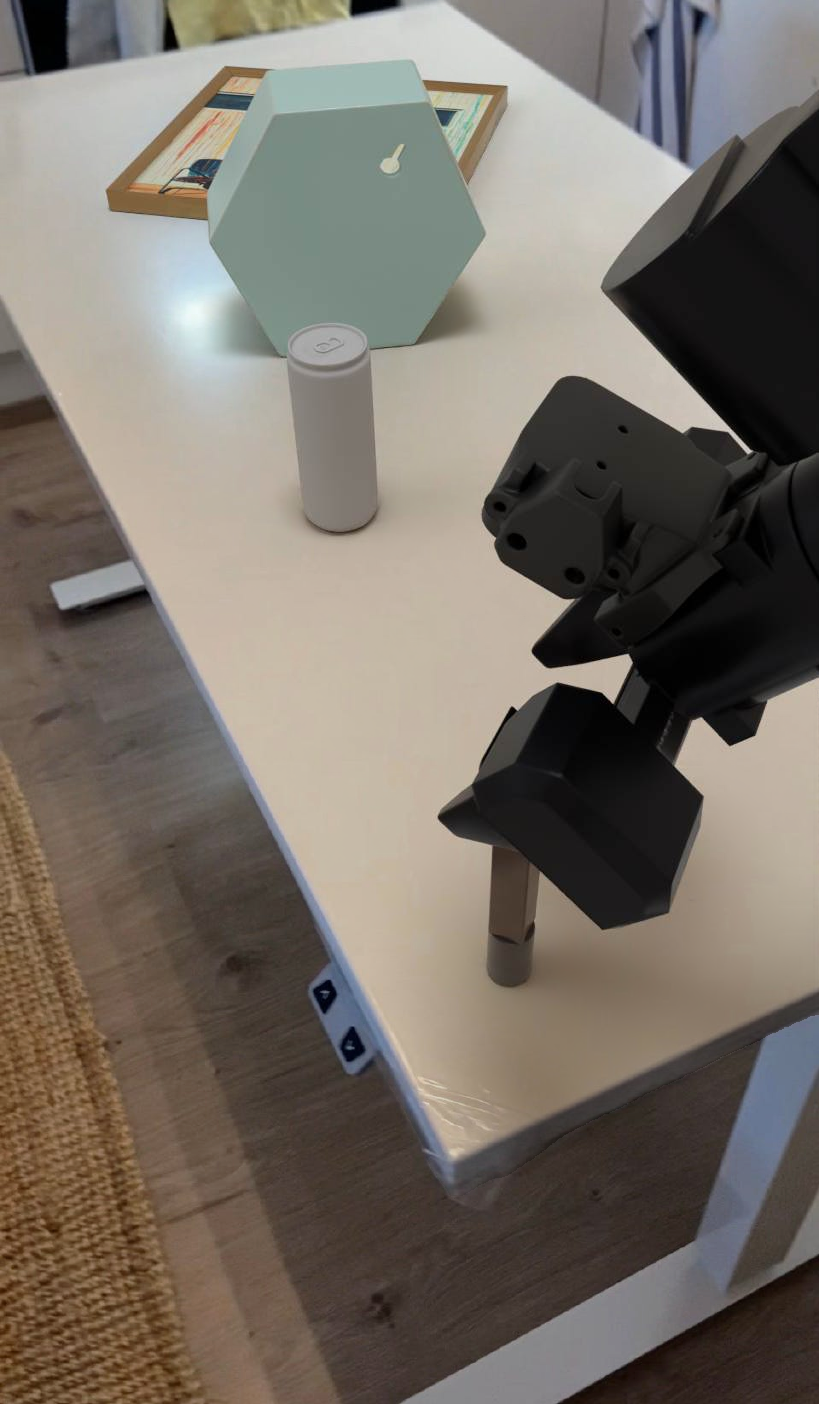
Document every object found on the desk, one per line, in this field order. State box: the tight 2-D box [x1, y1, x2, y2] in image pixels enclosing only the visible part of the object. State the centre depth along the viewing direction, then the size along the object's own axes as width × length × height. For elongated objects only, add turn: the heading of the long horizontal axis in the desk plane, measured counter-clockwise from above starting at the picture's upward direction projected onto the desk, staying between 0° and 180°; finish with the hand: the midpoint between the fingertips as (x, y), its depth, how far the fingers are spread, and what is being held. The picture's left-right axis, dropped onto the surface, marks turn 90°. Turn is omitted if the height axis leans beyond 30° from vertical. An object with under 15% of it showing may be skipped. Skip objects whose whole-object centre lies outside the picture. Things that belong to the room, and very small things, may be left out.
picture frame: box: [105, 65, 509, 221], centre depth 113 cm, size 30×2×30 cm
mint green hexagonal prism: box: [207, 59, 487, 358], centre depth 86 cm, size 17×8×21 cm
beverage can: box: [286, 323, 379, 533], centre depth 72 cm, size 5×5×12 cm
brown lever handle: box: [486, 845, 541, 988], centre depth 49 cm, size 2×2×13 cm
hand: (496, 735), depth 44 cm, fingers open, 9 cm apart
